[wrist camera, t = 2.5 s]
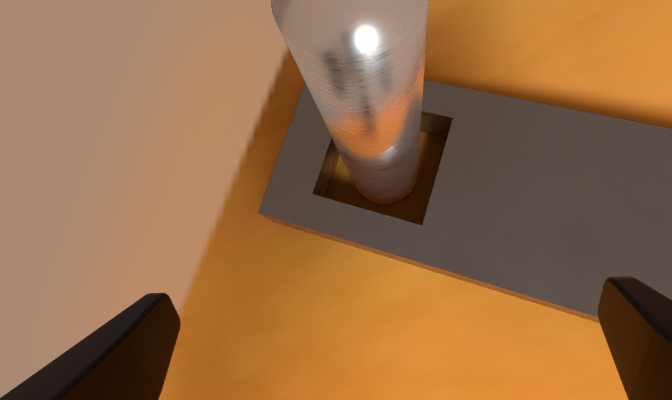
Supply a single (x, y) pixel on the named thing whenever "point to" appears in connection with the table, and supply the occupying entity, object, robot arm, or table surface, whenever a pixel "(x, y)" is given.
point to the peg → (364, 82)
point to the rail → (504, 198)
